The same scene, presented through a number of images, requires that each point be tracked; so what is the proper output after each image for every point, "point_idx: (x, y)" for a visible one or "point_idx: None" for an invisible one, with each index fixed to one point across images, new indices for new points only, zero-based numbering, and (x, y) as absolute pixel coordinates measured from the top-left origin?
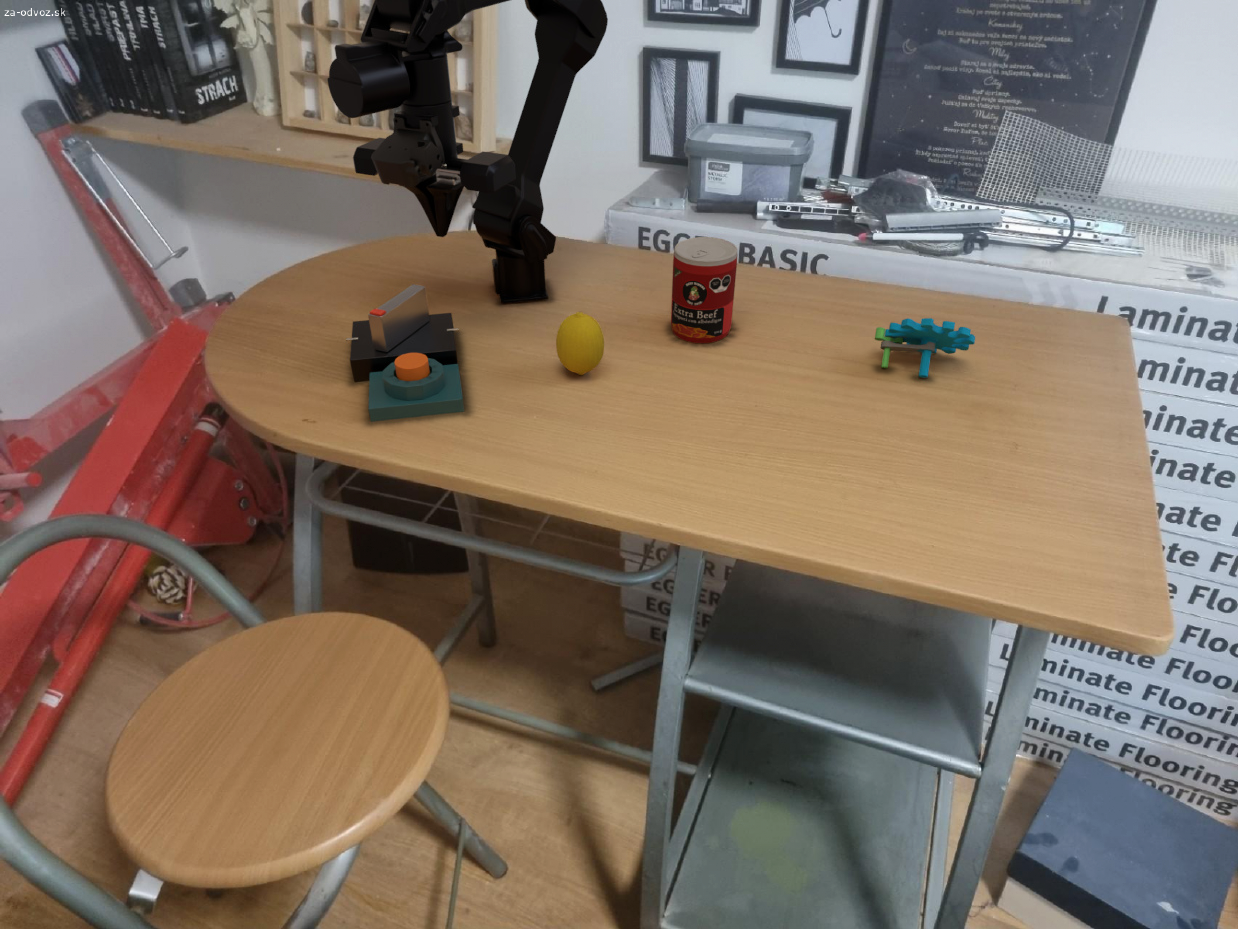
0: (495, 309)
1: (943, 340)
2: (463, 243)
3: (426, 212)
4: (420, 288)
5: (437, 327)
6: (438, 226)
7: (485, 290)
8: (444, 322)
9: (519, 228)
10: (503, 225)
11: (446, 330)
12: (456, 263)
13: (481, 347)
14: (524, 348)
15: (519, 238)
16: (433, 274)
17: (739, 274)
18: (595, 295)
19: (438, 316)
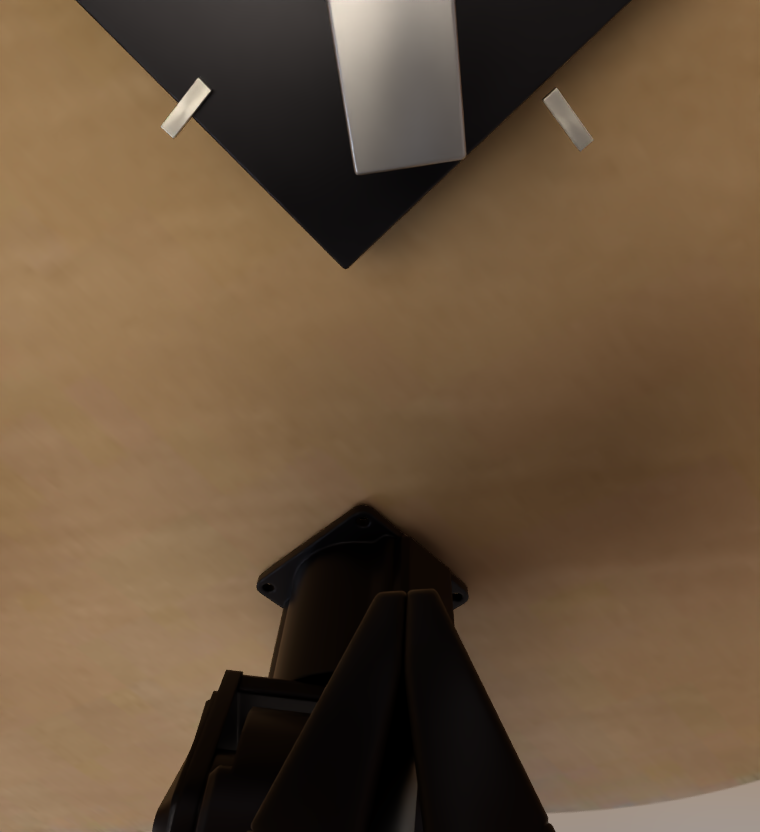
0: (359, 466)
1: None
2: (741, 731)
3: (511, 800)
4: (358, 122)
5: (279, 87)
6: (384, 666)
7: (484, 549)
8: (292, 160)
9: (176, 822)
10: (251, 822)
11: (214, 86)
12: (692, 642)
13: (174, 201)
14: (42, 285)
15: (200, 764)
16: (731, 563)
17: (4, 809)
18: (172, 644)
19: (369, 201)
